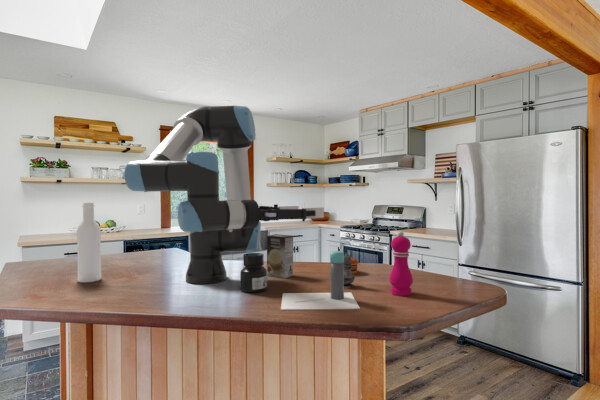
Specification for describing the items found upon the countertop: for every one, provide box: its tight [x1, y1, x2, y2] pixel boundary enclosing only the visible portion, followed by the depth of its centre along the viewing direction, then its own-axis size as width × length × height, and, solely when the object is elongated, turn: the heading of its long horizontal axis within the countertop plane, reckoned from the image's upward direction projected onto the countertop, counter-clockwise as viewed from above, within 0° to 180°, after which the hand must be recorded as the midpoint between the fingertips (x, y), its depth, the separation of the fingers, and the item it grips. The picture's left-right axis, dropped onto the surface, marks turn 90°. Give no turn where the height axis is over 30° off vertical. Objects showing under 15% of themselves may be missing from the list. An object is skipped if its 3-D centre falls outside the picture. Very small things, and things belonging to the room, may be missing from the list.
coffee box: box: [266, 233, 294, 279], centre depth 142 cm, size 9×6×16 cm
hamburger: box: [351, 256, 362, 276], centre depth 146 cm, size 9×10×7 cm
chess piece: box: [344, 251, 356, 289], centre depth 124 cm, size 6×6×12 cm
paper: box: [280, 291, 361, 311], centre depth 107 cm, size 22×16×1 cm
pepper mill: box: [389, 231, 414, 297], centre depth 114 cm, size 7×7×20 cm
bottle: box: [76, 201, 102, 283], centre depth 137 cm, size 8×8×30 cm
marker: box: [329, 250, 345, 300], centre depth 109 cm, size 4×4×14 cm
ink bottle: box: [240, 252, 268, 294], centre depth 121 cm, size 10×9×12 cm
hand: (310, 211), depth 104 cm, fingers open, 13 cm apart
